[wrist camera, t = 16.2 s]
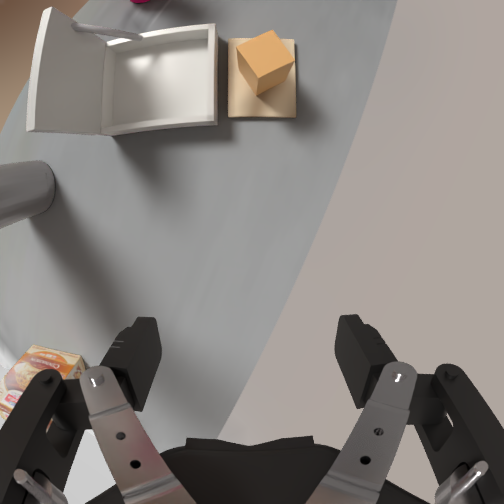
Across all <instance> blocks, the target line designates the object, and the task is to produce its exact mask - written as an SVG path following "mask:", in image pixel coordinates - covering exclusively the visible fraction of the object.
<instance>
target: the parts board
mask: <svg viewBox="0 0 504 504" xmlns="http://www.w3.org/2000/svg"><path fill="white" fill-rule="evenodd" d="M251 39H253V38H233V39H228V117H229V118H234V117H280V118H296V81H295V62H294V64H293V66H292V68H291V70H290V72H289V74H288V76H287V78H286V80H285V81H284V82H282V83H280V84H278V85H276V86H274V87H272V88H270V89H268V90H267V91H265V92H263V93H261V94H259V95H257V96H256V95H255V93H254V92H253V90H252V89H251V87H250V86H249V85H248V83H247V82H246V80H245V79H244V77H243V76H242V74H241V73H240V71H239V68H238V60H237V51H236V46H238V45H240V44H243V43H245V42H247V41H249V40H251ZM280 40H281V41H282V43H283V44H284V45H285V47H286V48H287V50H288V51H289V52H290V54H291V55H292V57H293V58H294V59H295V53H294V40H293V39H280Z"/></svg>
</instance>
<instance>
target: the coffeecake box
mask: <svg viewBox="0 0 504 504" xmlns="http://www.w3.org/2000/svg"><path fill="white" fill-rule="evenodd" d="M45 369H55V370H57V371H59V372H60V374H61V376H62V378H63V379H79V378H80V376H81V374H82V373H83V372H84V371H85V370H86V369H85V366H84V362H83V360H82V357H81V356H80V355H75V354H71V353H66V352H61V351H57V350H53V349H49V348H44V347H41V346H37V345H32V346H31V347H30V348H29V350H28V351H27V352H26V353H25V354H24V355H23V356H22V357H21V358H20V359H19V361H18V362H17V363H16V364H15V365H14V366H13V367H12V368H11V369H10V371H9V372H8V373H7V374H6V375H5V376H4V378H3V379H2V380H1V381H0V415H1V416H2V418H3V419H5V420H6V419H7V418H8V416H9V414H10V413H11V411H12V409H13V408H14V406H15V405H16V403H17V401H18V400H19V398H20V397H21V395H22V394H23V392H24V390H25V389H26V387H27V386H28V384H29V383H30V381H31V380H32V378H33V377H34V376H35V375H36V374H37V373H38V372H40V371H42V370H45ZM52 421H53V419H52V418H51V420H50V422H49V424H48V426H47V429H46V433H47V431H48V429H49V427H50V425H51V423H52Z"/></svg>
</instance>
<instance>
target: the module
mask: <svg viewBox="0 0 504 504" xmlns="http://www.w3.org/2000/svg"><path fill="white" fill-rule="evenodd" d="M236 51H237V60H238V68H239V71H240V73H241V74H242V76H243V77H244V79H245V80H246V82H247V83H248V85H249V86H250V87H251V89H252V90H253V92H254V93H255V95H256V96H257V95H259V94H261V93H263V92H265V91H267V90H268V89H270V88H272V87H274V86H276V85H278V84H280V83H282V82H284V81H285V80H286V78H287V76H288V74H289V72H290V70H291V68H292V66H293V64H294V62H295V59H294V58H293V57H292V55H291V54H290V52H289V51H288V50H287V48H286V47H285V45H284V44H283V43H282V41H281V40H280V39H279V37H278V36H277V35H276V34H275V32H274V31H273V30H271V31H268V32H266V33H264V34H262V35H259V36H257V37H255V38H253V39H251V40H249V41H247V42H245V43H243V44H240V45H238V46H236Z"/></svg>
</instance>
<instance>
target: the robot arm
mask: <svg viewBox="0 0 504 504" xmlns="http://www.w3.org/2000/svg"><path fill="white" fill-rule="evenodd" d="M54 193H55V181H54V176H53V173H52V171H51V169H50V167H49V166H48V165H47V164H46V163H45V162H43V161H38V160H36V161H27V162H18V163H11V164H4V165H0V229H1V228H3V227H6V226H8V225H11V224H13V223H16V222H18V221H21V220H23V219H26V218H29V217H31V216H34V215H37V214H39V213H42V212H44V211H46V210H47V209H48V208H49V206H50V205H51V203H52V201H53V198H54ZM161 355H162V348H161V342H160V337H159V332H158V327H157V322H156V319H155V318H154V317H137V319H136V321H135V322H134V324H133V326H132V327H127V328H125V329H124V330H123V331H121V332H120V333H119V334H118V336H117V337H116V339H115V342H113V344H112V345H111V347H110V348H109V350H108V352H107V353H106V355H105V357H104V358H103V360H102V362H101V363H100V365H99V366H94V367H91V368H88V369H87V370H85V371H84V372H83V373H82V374H81V376H80V378H79V379H63V378H62V376H61V374H60V372H59V371H57V370H55V369H45V370H42V371H40V372H38V373H37V374H36V375H35V376H34V377H33V378H32V380H31V381H30V383H29V384H28V386H27V387H26V389H25V390H24V392H23V394H22V395H21V397H20V398H19V400H18V401H17V403H16V405H15V406H14V408H13V409H12V411H11V413H10V414H9V416H8V418H7V419H6V421H5V423H4V425H3V426H2V428H1V430H0V504H68V501H67V499H66V497H65V495H64V494H63V491H64V488H65V484H66V481H67V478H68V475H69V472H70V469H71V466H72V464H73V461H74V458H75V455H76V452H77V449H78V447H79V444H80V441H81V439H82V436H83V434H84V431H85V430H86V429H93V431H94V434H95V436H96V439H97V441H98V444H99V446H100V449H101V451H102V453H103V456H104V458H105V461H106V463H107V465H108V467H109V469H110V471H111V474H112V476H113V478H114V480H115V482H116V484H115V485H114V486H112V487H111V488H109V489H108V490H106V491H104V492H103V493H101V494H100V495H98V496H97V497H95V498H93V499H92V500H90V501H88V502H87V503H85V504H430V503H428V502H426V501H424V500H422V499H420V498H418V497H416V496H415V495H413V494H411V493H409V492H407V491H405V490H404V489H402V488H400V487H398V486H397V485H395V484H393V483H391V482H390V481H388V480H386V477H387V474H388V472H389V470H390V466H391V465H392V462H393V460H394V457H395V455H396V452H397V449H398V447H399V443H400V441H401V438H402V435H403V432H404V429H405V426H406V425H414V426H415V429H416V431H417V433H418V435H419V438H420V440H421V442H422V444H423V446H424V449H425V452H426V454H427V456H428V459H429V461H430V464H431V466H432V469H433V471H434V473H435V476H436V479H437V481H438V484H439V487H438V489H437V491H436V493H435V504H504V429H503V427H502V426H501V424H500V423H499V421H498V420H497V418H496V416H495V415H494V414H493V412H492V410H491V409H490V407H489V406H488V405H487V403H486V402H485V400H484V399H483V397H482V396H481V395H480V393H479V392H478V390H477V389H476V387H475V386H474V385H473V383H472V382H471V381H470V379H469V378H468V377H467V375H466V374H465V372H464V371H463V370H462V369H461V368H460V367H458V366H456V365H453V364H442V365H440V366H438V367H437V369H436V371H435V374H417V372H416V370H415V369H414V368H413V367H412V366H411V365H409V364H407V363H404V362H398V360H397V359H396V358H395V356H394V354H393V353H392V351H391V350H390V348H389V347H388V346H387V344H385V341H384V340H383V339H382V338H381V335H380V334H379V333H378V331H377V330H376V329H375V328H373V327H372V326H370V325H369V324H364V323H363V322H362V320H361V319H360V317H359V316H358V315H357V314H353V315H342V316H340V318H339V322H338V329H337V335H336V340H335V356H336V359H337V361H338V363H339V366H340V369H341V371H342V373H343V376H344V378H345V381H346V383H347V386H348V388H349V390H350V393H351V396H352V398H353V400H354V403H355V406H356V408H357V409H360V408H364V409H363V411H362V413H361V415H360V417H359V419H358V421H357V423H356V425H355V427H354V429H353V431H352V432H351V434H350V436H349V438H348V440H347V441H346V443H345V445H344V447H343V448H342V450H341V451H340V450H338V449H335V448H333V447H329V446H326V445H320V444H314V440H313V436H304V437H293V438H281V439H278V440H274V441H270V442H266V443H262V444H258V445H254V446H246V445H241V444H236V443H231V442H226V441H222V440H218V439H198V438H187V439H186V445H185V446H181V447H176V448H173V449H169V450H167V451H164V452H162V453H160V454H159V453H158V451H157V450H156V448H155V447H154V445H153V443H152V442H151V440H150V438H149V437H148V435H147V433H146V432H145V430H144V428H143V427H142V425H141V423H140V421H139V420H138V418H137V416H136V414H135V413H134V411H140V412H142V411H143V408H144V405H145V402H146V399H147V396H148V394H149V391H150V388H151V385H152V382H153V379H154V377H155V374H156V371H157V368H158V366H159V363H160V360H161ZM447 413H448V415H449V416H450V418H451V420H452V422H453V427H452V425H451V423H450V421H449V419H448V418H447V416H446V415H447ZM51 418H52V419H53V421H52V423H51V425H50V427H49V429H48V431H47V433H46V429H47V426H48V424H49V422H50V420H51Z"/></svg>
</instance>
